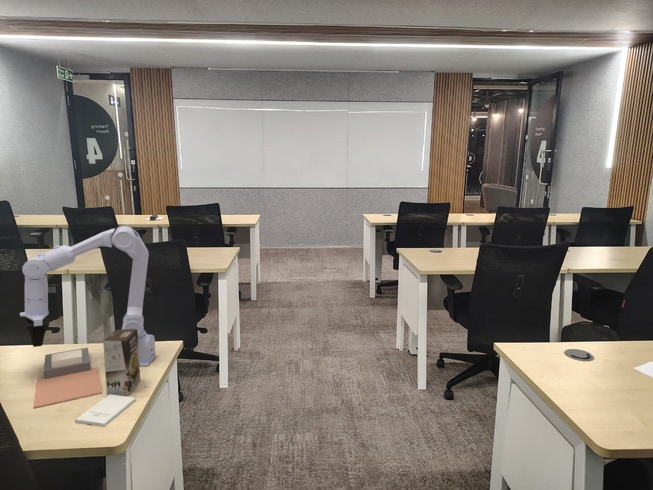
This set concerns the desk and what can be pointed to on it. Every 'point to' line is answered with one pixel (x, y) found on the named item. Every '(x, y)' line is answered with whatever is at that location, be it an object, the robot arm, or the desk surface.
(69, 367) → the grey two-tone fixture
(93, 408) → the external hard drive
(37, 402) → the mat
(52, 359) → the tile
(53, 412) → the desk surface
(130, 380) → the coffee box
